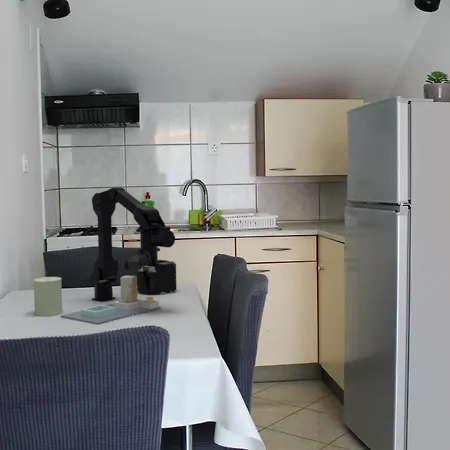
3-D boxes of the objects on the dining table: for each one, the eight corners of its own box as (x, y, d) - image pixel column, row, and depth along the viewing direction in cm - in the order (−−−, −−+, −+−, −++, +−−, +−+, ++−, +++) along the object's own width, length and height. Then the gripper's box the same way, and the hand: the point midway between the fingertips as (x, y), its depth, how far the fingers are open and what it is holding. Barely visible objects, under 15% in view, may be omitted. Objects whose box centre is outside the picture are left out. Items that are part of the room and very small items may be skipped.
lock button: (145, 306, 209) (144, 297, 209) (150, 305, 211) (149, 296, 211) (150, 307, 208) (149, 298, 208) (155, 305, 210) (154, 297, 210)
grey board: (60, 317, 199) (60, 309, 198) (124, 302, 221) (123, 295, 221) (97, 324, 188) (97, 316, 188) (160, 308, 210) (160, 301, 210)
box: (132, 309, 208) (131, 277, 207) (120, 309, 209) (119, 277, 208) (137, 306, 213) (137, 275, 212) (126, 306, 214) (125, 274, 213)
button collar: (141, 307, 209) (141, 301, 209) (149, 305, 212) (149, 299, 212) (150, 309, 207) (150, 303, 206) (158, 306, 210) (158, 301, 210)
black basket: (154, 287, 252) (153, 258, 251) (182, 290, 243) (181, 261, 242) (129, 292, 240) (128, 262, 239) (158, 296, 231) (157, 265, 230)
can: (37, 317, 200) (35, 280, 199) (32, 311, 208) (30, 276, 207) (65, 314, 204) (64, 278, 203) (59, 308, 212) (58, 274, 211)
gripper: (112, 246, 207) (113, 291, 208) (152, 249, 196) (153, 297, 197) (136, 243, 216) (137, 286, 217) (175, 246, 205) (176, 292, 206)
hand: (150, 290), depth 209 cm, fingers closed
